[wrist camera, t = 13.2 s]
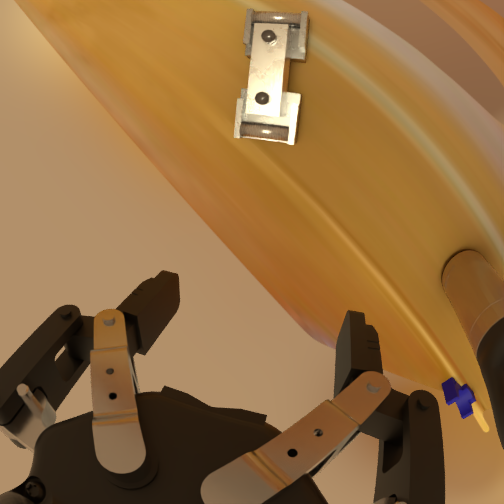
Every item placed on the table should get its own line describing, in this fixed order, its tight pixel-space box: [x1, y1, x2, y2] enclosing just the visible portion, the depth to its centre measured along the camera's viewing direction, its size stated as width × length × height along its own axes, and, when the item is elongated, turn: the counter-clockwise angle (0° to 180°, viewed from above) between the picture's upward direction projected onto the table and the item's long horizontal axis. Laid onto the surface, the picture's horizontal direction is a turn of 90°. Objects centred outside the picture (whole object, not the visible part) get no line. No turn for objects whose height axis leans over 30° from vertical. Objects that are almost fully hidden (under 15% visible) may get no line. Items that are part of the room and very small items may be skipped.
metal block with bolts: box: [246, 23, 293, 117], centre depth 31 cm, size 4×12×6 cm, turn 175°
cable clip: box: [442, 377, 476, 419], centre depth 49 cm, size 12×4×6 cm, turn 51°
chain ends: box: [234, 9, 310, 145], centre depth 34 cm, size 8×19×4 cm, turn 175°
